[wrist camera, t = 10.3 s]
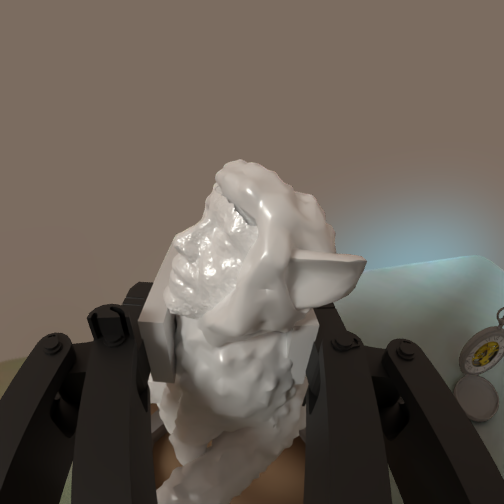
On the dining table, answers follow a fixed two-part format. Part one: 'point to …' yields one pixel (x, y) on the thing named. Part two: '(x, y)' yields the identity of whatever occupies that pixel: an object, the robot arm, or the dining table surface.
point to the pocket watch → (473, 386)
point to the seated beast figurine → (242, 329)
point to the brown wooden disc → (261, 489)
